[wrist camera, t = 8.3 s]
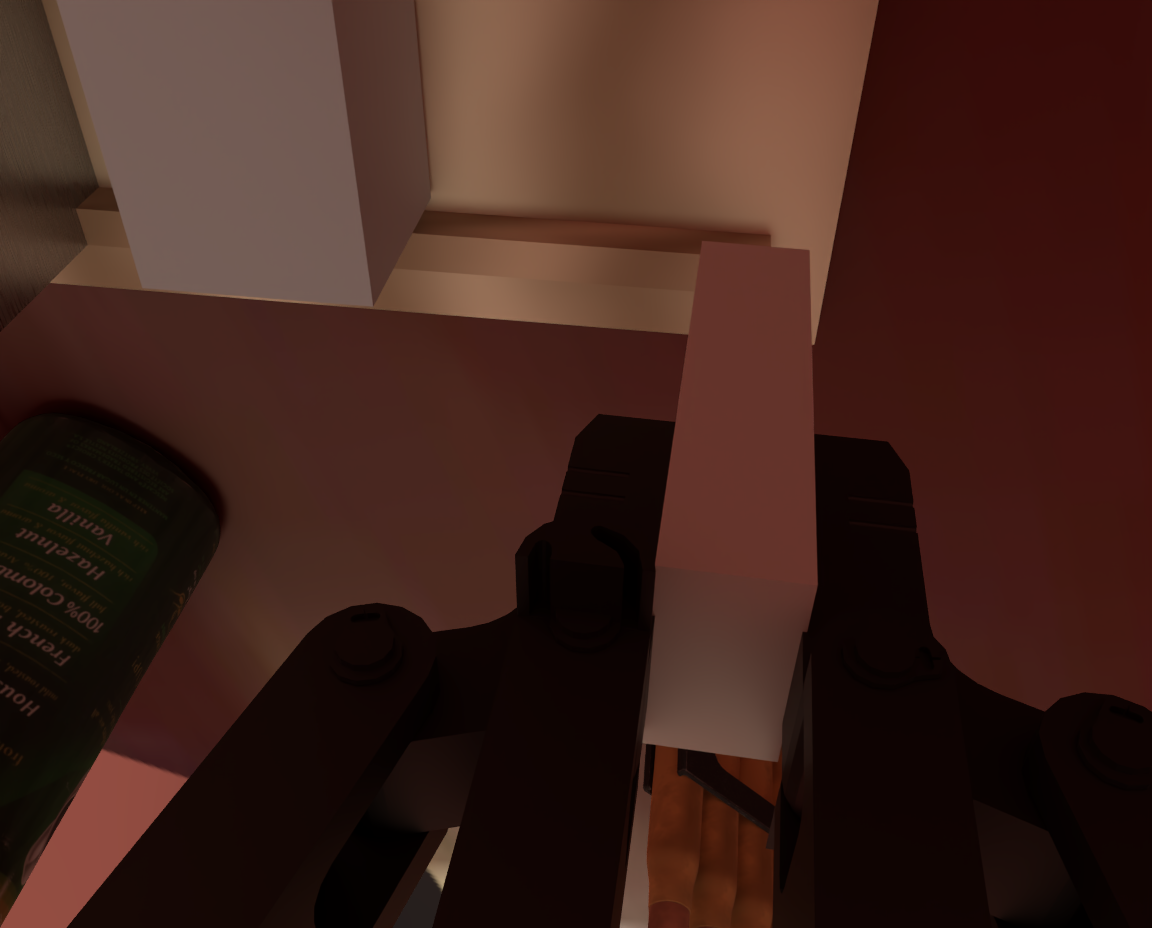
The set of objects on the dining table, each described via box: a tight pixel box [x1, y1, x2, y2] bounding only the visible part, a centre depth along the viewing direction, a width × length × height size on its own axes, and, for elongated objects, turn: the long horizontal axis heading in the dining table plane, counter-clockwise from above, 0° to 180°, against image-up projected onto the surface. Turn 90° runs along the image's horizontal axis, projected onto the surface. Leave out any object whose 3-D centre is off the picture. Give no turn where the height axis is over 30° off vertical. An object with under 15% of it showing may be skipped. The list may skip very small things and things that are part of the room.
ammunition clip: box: [643, 744, 782, 928], centre depth 35 cm, size 11×2×12 cm, turn 47°
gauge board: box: [42, 0, 879, 345], centre depth 23 cm, size 22×14×2 cm, turn 90°
